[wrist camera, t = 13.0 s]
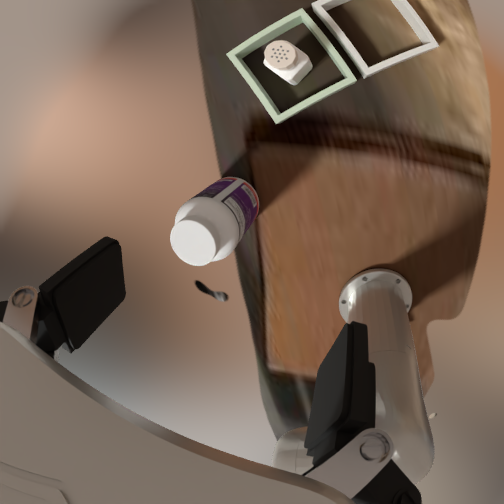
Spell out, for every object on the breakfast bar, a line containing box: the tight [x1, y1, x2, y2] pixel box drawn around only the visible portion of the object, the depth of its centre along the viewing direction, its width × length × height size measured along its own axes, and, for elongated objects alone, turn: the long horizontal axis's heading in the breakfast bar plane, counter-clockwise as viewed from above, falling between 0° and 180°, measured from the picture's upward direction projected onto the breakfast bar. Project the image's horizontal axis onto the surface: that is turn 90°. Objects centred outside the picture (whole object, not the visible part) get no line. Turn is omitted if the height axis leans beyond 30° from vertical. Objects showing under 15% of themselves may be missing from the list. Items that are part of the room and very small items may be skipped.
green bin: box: [226, 9, 357, 124], centre depth 29 cm, size 12×12×3 cm
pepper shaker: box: [264, 40, 313, 85], centre depth 26 cm, size 4×4×10 cm
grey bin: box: [312, 0, 439, 78], centre depth 23 cm, size 12×12×3 cm
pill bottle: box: [170, 177, 259, 266], centre depth 35 cm, size 8×8×14 cm
